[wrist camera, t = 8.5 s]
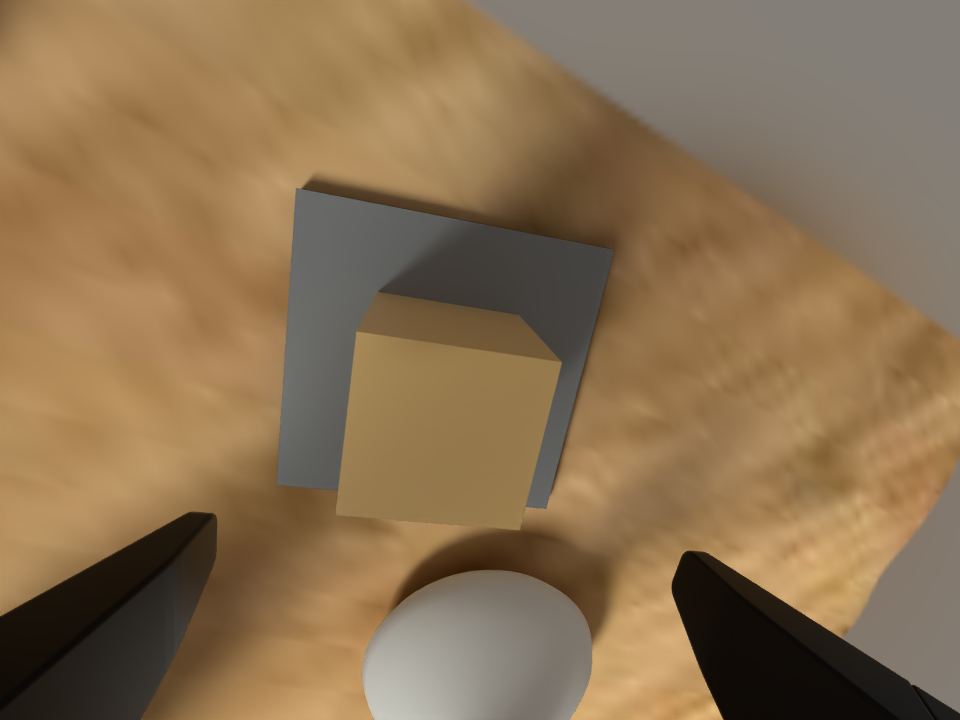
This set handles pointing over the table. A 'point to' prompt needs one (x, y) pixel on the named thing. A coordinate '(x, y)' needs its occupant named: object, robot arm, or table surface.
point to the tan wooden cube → (444, 414)
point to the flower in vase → (479, 652)
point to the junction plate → (424, 275)
